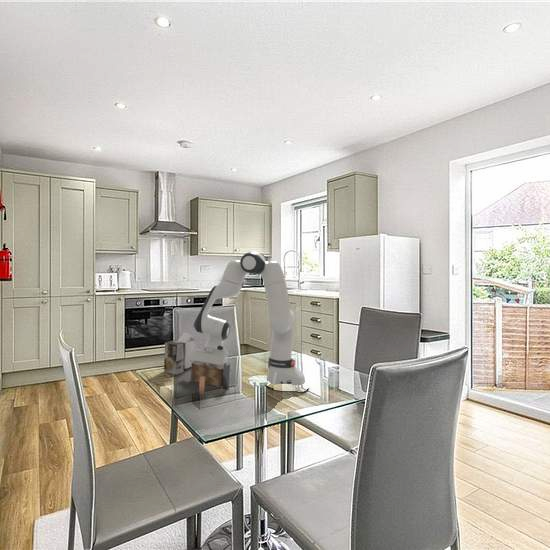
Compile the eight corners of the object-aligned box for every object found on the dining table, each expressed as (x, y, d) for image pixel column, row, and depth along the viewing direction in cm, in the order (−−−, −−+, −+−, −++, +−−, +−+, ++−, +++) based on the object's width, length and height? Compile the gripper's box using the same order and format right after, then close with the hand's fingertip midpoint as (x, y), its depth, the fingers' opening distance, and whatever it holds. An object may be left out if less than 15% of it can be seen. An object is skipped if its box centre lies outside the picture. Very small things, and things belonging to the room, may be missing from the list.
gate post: (229, 387, 197) (230, 363, 197) (227, 389, 194) (228, 365, 193) (223, 386, 198) (224, 362, 197) (221, 389, 195) (222, 364, 194)
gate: (222, 385, 198) (223, 368, 197) (220, 386, 196) (221, 369, 196) (192, 379, 205) (193, 362, 205) (190, 380, 204) (191, 363, 203)
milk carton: (184, 369, 222) (186, 335, 221) (176, 366, 227) (177, 333, 226) (194, 366, 228) (196, 333, 227) (186, 364, 232) (187, 331, 231)
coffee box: (184, 372, 217) (185, 342, 216) (175, 375, 212) (177, 344, 211) (172, 368, 222) (173, 340, 221) (163, 371, 216) (164, 342, 216)
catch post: (205, 392, 189) (205, 376, 188) (203, 394, 186) (203, 378, 186) (200, 391, 189) (200, 376, 189) (198, 393, 187) (199, 377, 186)
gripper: (193, 343, 213) (182, 365, 205) (227, 348, 206) (217, 372, 198) (197, 349, 218) (186, 372, 209) (231, 355, 211) (221, 378, 202)
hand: (202, 372), depth 203 cm, fingers closed
